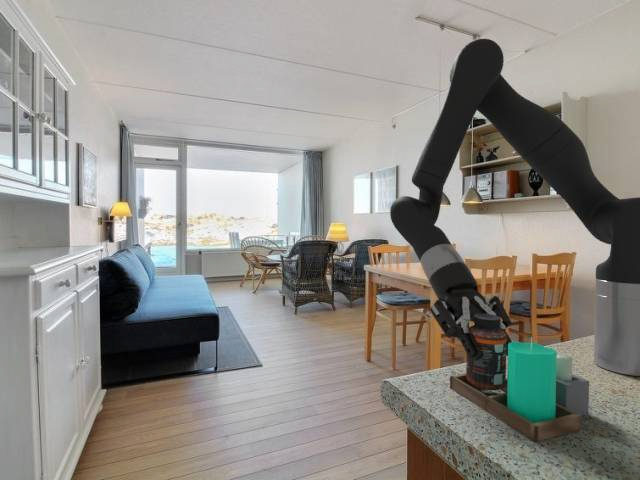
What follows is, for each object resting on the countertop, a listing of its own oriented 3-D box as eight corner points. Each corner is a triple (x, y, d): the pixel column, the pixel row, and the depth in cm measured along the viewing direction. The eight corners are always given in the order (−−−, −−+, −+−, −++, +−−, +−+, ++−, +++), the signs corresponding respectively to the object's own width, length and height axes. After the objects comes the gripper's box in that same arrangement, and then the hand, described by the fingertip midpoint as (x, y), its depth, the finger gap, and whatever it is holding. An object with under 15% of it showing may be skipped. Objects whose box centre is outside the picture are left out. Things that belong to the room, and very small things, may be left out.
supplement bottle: (511, 393, 54) (512, 322, 54) (470, 389, 55) (471, 319, 55) (499, 377, 60) (500, 312, 59) (462, 374, 61) (464, 310, 61)
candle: (564, 433, 46) (565, 345, 46) (515, 429, 47) (516, 342, 47) (543, 410, 52) (544, 331, 52) (500, 407, 53) (501, 329, 53)
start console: (558, 399, 56) (558, 368, 55) (588, 414, 51) (589, 380, 51) (536, 404, 54) (537, 372, 54) (565, 419, 50) (566, 385, 50)
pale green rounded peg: (560, 391, 54) (561, 353, 54) (575, 398, 52) (576, 358, 52) (549, 393, 53) (550, 355, 53) (564, 400, 51) (564, 360, 51)
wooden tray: (488, 380, 63) (488, 369, 62) (580, 429, 47) (581, 415, 47) (449, 387, 60) (450, 376, 60) (534, 442, 45) (534, 426, 44)
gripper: (423, 261, 62) (471, 350, 51) (487, 259, 66) (544, 340, 55) (406, 286, 67) (446, 371, 56) (467, 283, 71) (515, 361, 61)
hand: (494, 355), depth 56 cm, fingers closed on supplement bottle, 6 cm apart
